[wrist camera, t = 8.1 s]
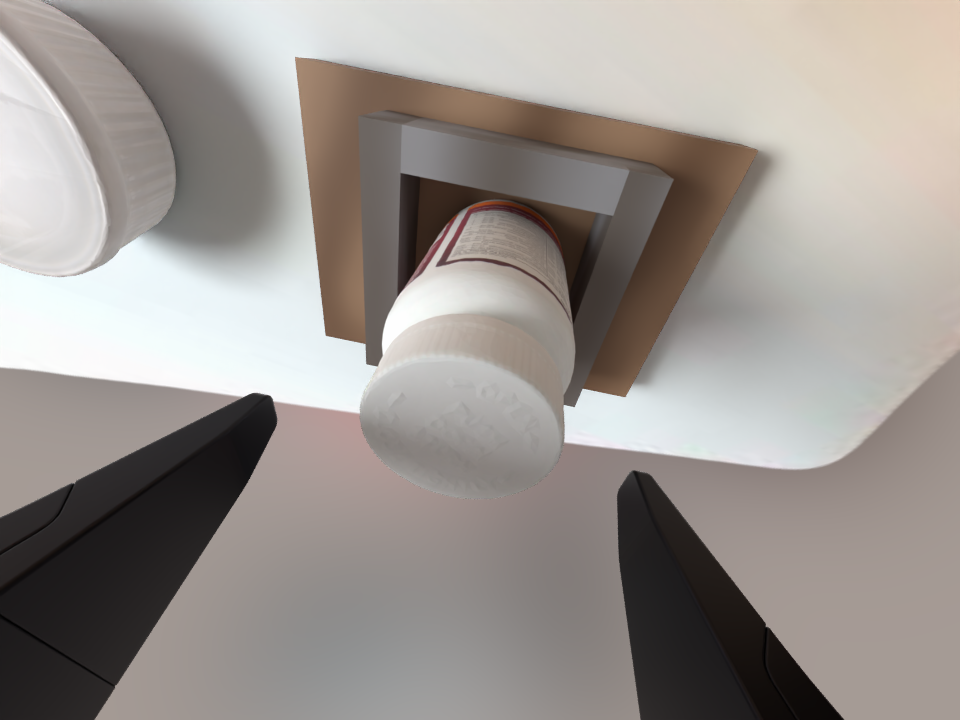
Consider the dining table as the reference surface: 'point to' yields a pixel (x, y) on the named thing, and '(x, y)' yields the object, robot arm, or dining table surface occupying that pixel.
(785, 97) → the dining table surface
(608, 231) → the socket board
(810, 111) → the dining table surface
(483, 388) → the pill bottle
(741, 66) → the dining table surface
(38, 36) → the ramekin
